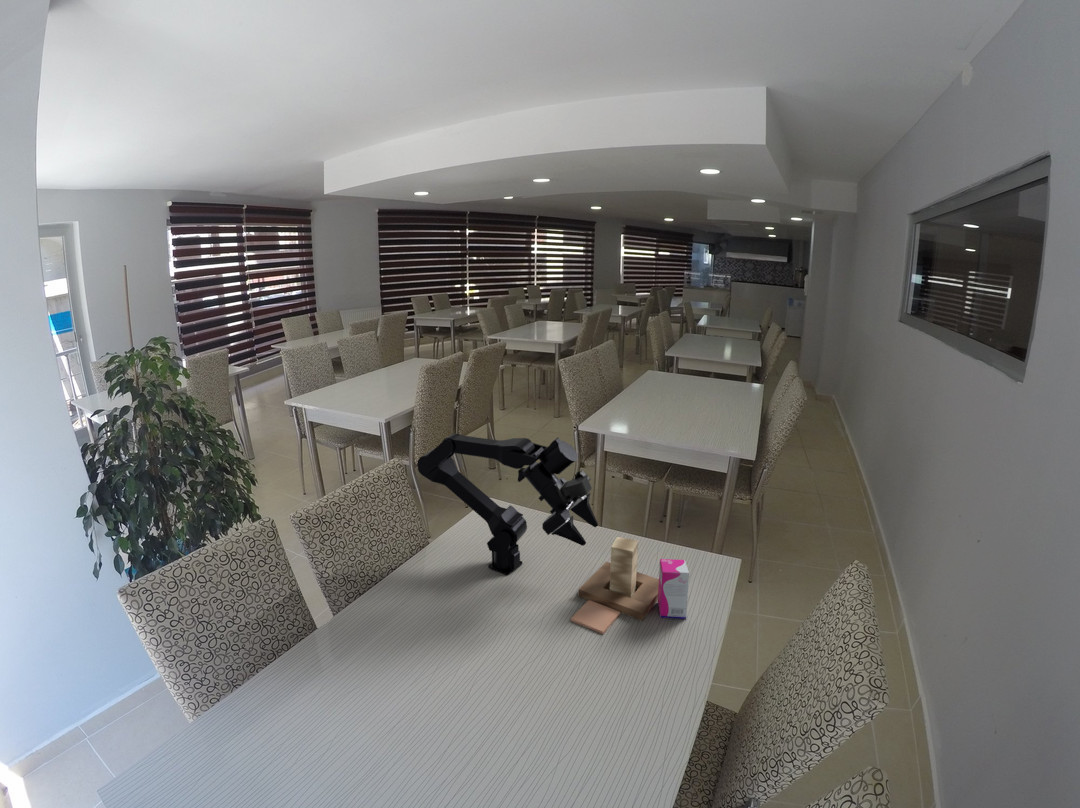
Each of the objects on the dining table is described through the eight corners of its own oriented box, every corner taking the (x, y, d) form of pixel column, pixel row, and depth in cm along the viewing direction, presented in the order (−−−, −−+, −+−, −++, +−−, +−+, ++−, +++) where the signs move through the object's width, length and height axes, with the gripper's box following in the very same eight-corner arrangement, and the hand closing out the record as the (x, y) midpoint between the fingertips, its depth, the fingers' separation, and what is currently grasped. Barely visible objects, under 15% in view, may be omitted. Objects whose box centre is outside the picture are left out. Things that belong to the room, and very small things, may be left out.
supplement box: (682, 603, 130) (686, 559, 127) (686, 619, 125) (690, 574, 121) (656, 601, 131) (659, 557, 128) (659, 618, 125) (662, 572, 122)
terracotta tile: (570, 620, 124) (570, 618, 124) (588, 602, 131) (588, 599, 131) (603, 634, 120) (603, 631, 120) (620, 614, 126) (620, 611, 126)
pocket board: (578, 596, 133) (578, 589, 132) (606, 568, 144) (606, 561, 143) (642, 620, 124) (642, 613, 124) (666, 589, 135) (666, 581, 135)
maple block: (609, 596, 133) (611, 546, 129) (615, 584, 137) (617, 536, 134) (630, 601, 131) (632, 551, 127) (635, 589, 135) (638, 540, 132)
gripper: (555, 480, 122) (603, 536, 121) (583, 451, 139) (625, 500, 138) (522, 507, 127) (568, 561, 126) (553, 476, 144) (593, 523, 143)
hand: (590, 535), depth 133 cm, fingers open, 9 cm apart
